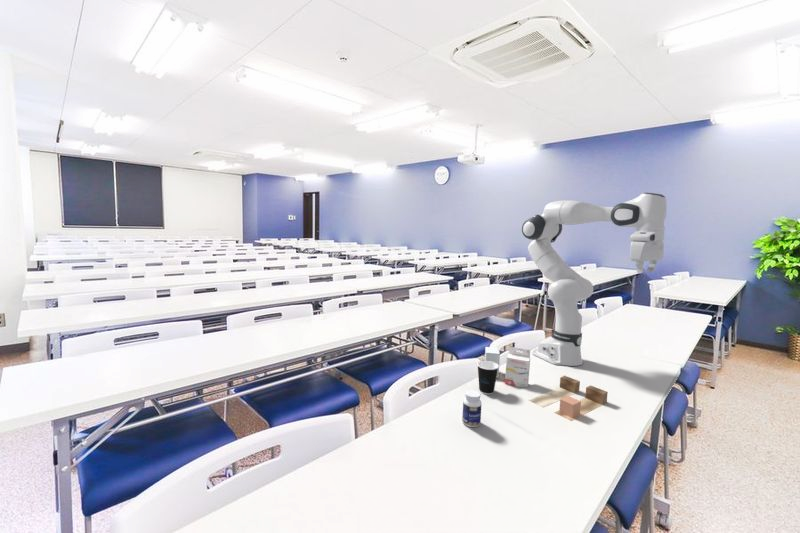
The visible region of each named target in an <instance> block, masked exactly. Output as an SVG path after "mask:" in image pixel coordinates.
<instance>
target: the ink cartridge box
mask: <svg viewBox="0 0 800 533" xmlns="http://www.w3.org/2000/svg"><path fill="white" fill-rule="evenodd" d="M505 365H506V366H505V374H504V375H505V376H504V377H505V379H504V384H505V385H507V386H513V387H517V388H522V389H524V388H528V386H529V380H530V369H531V368H530V367H531V366H530V365H531V349H527V348H521V347H514V346H509V348H508V354H507V356H506V364H505Z"/></svg>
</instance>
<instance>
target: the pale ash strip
mask: <svg viewBox="0 0 800 533" xmlns="http://www.w3.org/2000/svg"><path fill="white" fill-rule="evenodd" d="M580 383H581V382H580V380H578V379H574V378H572V377H570V376H566V375H563V376H561V377H560V378H559V387H557V388H555V389H553V390H550V391H547V392H545V393H543V394H540V395H538V396H535V397H533V398H530V399H528V401H529V402H531V403H534V404H535V405H537V406H540V407H542V408H546V407H548V406H550V405H553V404H554V403H556V402H560V399H562V398H564V397H566V396H570V397H572V396H573V395H574V394H577V393H579V392H580Z"/></svg>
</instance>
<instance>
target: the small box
mask: <svg viewBox="0 0 800 533" xmlns="http://www.w3.org/2000/svg"><path fill="white" fill-rule="evenodd" d="M484 349H485V350H484V351H485V352H484V361H491V362H494V363H496V364H498V365H499V366H500V363H501V362H500V360H501V358H500V357H501V353H500V349H499V347H493V346H485V348H484ZM499 378H500V367H499V368H498V370H497V376H496V379H499Z"/></svg>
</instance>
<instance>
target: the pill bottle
mask: <svg viewBox="0 0 800 533" xmlns="http://www.w3.org/2000/svg"><path fill="white" fill-rule="evenodd" d="M464 397H465V398H464V399H463V402H462V417H461V419H462V420H461V421H462V424H463V425H464V426H466V427H470V428H478V427H479V426H480V425H481V423H482V422H481V419H482V400H480V399H481V392H480V391H476V390H472V389H470V390H466V391H465V394H464Z"/></svg>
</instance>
